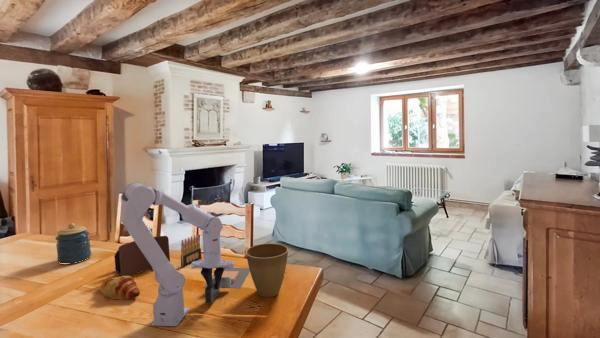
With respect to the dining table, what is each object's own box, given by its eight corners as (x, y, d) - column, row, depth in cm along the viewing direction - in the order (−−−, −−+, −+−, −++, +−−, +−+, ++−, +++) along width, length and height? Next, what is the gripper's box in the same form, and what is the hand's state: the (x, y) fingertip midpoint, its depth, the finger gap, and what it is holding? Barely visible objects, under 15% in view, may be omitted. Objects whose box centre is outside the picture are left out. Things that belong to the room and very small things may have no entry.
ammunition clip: (184, 267, 139) (182, 240, 137) (180, 266, 139) (179, 240, 138) (201, 258, 148) (200, 233, 147) (198, 257, 149) (197, 233, 148)
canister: (96, 257, 152) (93, 221, 150) (65, 267, 141) (61, 228, 139) (83, 252, 158) (80, 218, 156) (52, 261, 148) (48, 224, 146)
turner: (220, 303, 104) (219, 289, 104) (196, 303, 105) (196, 288, 105) (231, 287, 116) (230, 273, 116) (209, 286, 117) (209, 273, 116)
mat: (240, 289, 117) (240, 288, 117) (203, 288, 119) (203, 287, 119) (251, 269, 135) (251, 267, 135) (219, 268, 136) (219, 267, 136)
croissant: (96, 299, 119) (84, 285, 115) (118, 277, 127) (107, 264, 123) (133, 312, 110) (120, 297, 106) (154, 287, 117) (143, 273, 113)
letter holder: (170, 264, 142) (168, 233, 141) (121, 278, 129) (118, 244, 128) (163, 258, 150) (161, 229, 148) (115, 270, 137) (112, 239, 135)
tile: (234, 279, 122) (239, 271, 129) (216, 278, 122) (222, 270, 129) (234, 282, 122) (239, 274, 129) (216, 282, 123) (222, 274, 129)
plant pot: (296, 288, 118) (295, 246, 116) (273, 307, 105) (272, 261, 103) (264, 279, 125) (263, 240, 123) (238, 296, 112) (237, 253, 111)
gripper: (236, 246, 112) (237, 283, 113) (196, 245, 113) (198, 282, 115) (230, 253, 105) (232, 292, 106) (187, 253, 106) (190, 292, 108)
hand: (214, 288), depth 110 cm, fingers closed on turner
